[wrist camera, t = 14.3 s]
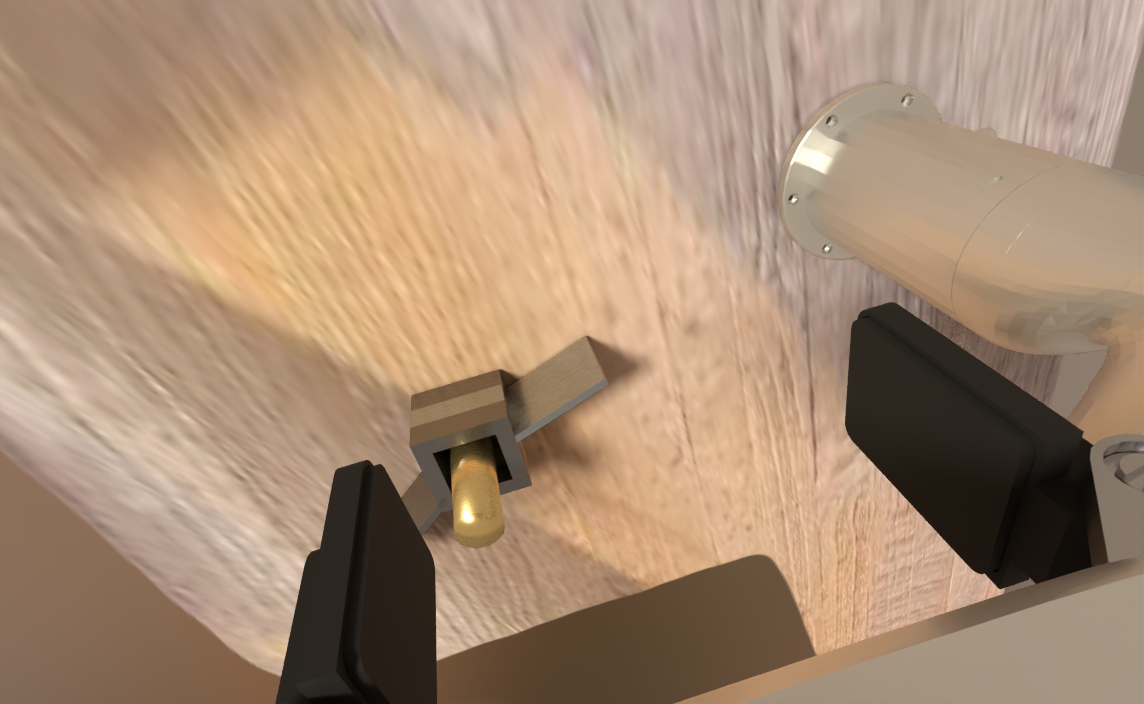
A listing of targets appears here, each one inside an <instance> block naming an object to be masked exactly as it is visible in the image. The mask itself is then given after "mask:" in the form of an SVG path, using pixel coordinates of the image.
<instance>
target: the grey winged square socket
mask: <svg viewBox="0 0 1144 704" xmlns="http://www.w3.org/2000/svg"><path fill="white" fill-rule="evenodd" d="M607 385H609V383H608V381H607V379H606V377H605V375H604V372H603V370H602V368H601V366H600V364H599V361H598V359H597V357H596V355H595V352H594V350H593V348H592V346H591V344H590V341H589V340H588V339H587V337H586V336H585V337H583V338H582V339H580V340H579V341H577V342H576V343H574V344H573V345H571V346H570V347H568V348H566V349H565V350H563V351H562V352H560V353H559V354H557V355H556V356H554V357H553V358H551V359H550V360H548V361H547V362H545V363H544V364H542V365H541V366H539V367H538V368H536V369H535V370H533V371H531V372H530V373H528V374H527V375H525V376H524V377H522V378H521V379H519V380H518V381H516V382H515V383H513V384H512V385H510V386H509V387H507V388H506V389H505V386H504V383H503V380H502V377H501V374H500V371H499V370H496V371H493V372H489V373H486V374H483V375H479V376H476V377H473V378H469V379H466V380H462V381H459V382H456V383H452V384H449V385H446V386H442V387H439V388H435V389H432V390H429V391H425V392H422V393H419V394H415V395H412V397H411V423H410V448H411V450H412V452H413V454H414V456H415V458H416V460H417V462H418V464H419V466H420V468H421V470H422V472H421V473H420V475H419V476H418V477H417V479H416V480H415V481H414V482H413V484H412V485H411V486H410V488H409V489H408V490H407V491H406V493H405V494H404V495H403V497H402V498H401V499H402V501H403V503H404V505H405V506H406V508H407V510H408V512H409V514H410V516H411V517H412V519H413V521H414V523H415V525H416V527H417V528H418V530H419V532H420V534H421V536H422V535H423V534H424V533H425V532H426V530H427V529H428V528H429V527H430V526H431V524H432V523H433V522H434V521H435V519H436V518H437V517H438V516H439V515H440V513H441V512H443V513H444V512H447V511H450V510H453V502H452V483H451V463H450V448H452V447H455V446H459V445H462V444H465V443H468V442H472V441H475V440H478V439H482V438H485V437H488V436H491V437H492V444H493V451H494V458H495V465H496V471H497V478H498V485H499V492H500V495H502V494H505V493H509V492H512V491H515V490H518V489H522V488H525V487H528V486H531V485H532V482H531V477H530V473H529V468H528V463H527V458H526V454H525V449H524V444H523V439H524V438H526V437H527V436H529V435H530V434H532V433H533V432H535V431H537V430H538V429H540V428H541V427H543V426H544V425H546V424H548V423H549V422H551V421H552V420H554V419H555V418H557V417H558V416H560V415H562V414H563V413H565V412H566V411H568V410H569V409H571V408H573V407H574V406H576V405H577V404H579V403H580V402H582V401H584V400H585V399H587V398H588V397H590V396H591V395H593V394H594V393H596V392H598V391H599V390H601V389H602V388H604V387H605V386H607Z"/></svg>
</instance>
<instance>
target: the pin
mask: <svg viewBox="0 0 1144 704" xmlns="http://www.w3.org/2000/svg"><path fill="white" fill-rule="evenodd" d="M450 463H451V483H452V502H453V521H454V536H455V538H456V540H457V541H458V542H459V543H460V544H462V545H464V546H466V547H471V548H481V547H485V546H488V545H491V544H493V543H495V542H496V541H497V540H498V539H500V537H501V536H502V535H503V533H504V528H505V527H504V520H503V513H502V506H501V499H500V492H499V485H498V478H497V471H496V465H495V458H494V451H493V444H492V437H491V436H488V437H485V438H482V439H478V440H475V441H472V442H468V443H465V444H462V445H459V446H455V447H452V448H450Z"/></svg>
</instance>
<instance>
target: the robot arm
mask: <svg viewBox="0 0 1144 704" xmlns="http://www.w3.org/2000/svg"><path fill="white" fill-rule="evenodd" d="M777 203H778V209H779V215H780V219H781V221H782V224H783V226H784V229H785V230H786V232H787V233H788V235H789V236H790V237H791V239H792V240H793V241H794V242H795V243H797V244H798V245H799V246H800V247H801V248H803V249H805V250H806V251H808V252H809V253H811V254H812V255H815V256H818V257H821V258H824V259H835V260H840V259H849V258H854V257H857V258H859V259H860V260H862V261H864V262H865V263H867V264H868V265H870V266H871V267H873V268H875V269H876V270H878V271H879V272H881V273H882V274H884V275H885V276H887V277H889V278H890V279H892V280H893V281H895V282H896V283H898V284H900V285H901V286H903V287H904V288H906V289H907V290H909V291H911V292H912V293H914V294H915V295H917V296H918V297H920V298H921V299H923V300H925V301H926V302H928V303H929V304H931V305H932V306H934V307H936V308H937V309H939V310H940V311H942V312H943V313H945V314H947V315H948V316H950V317H951V318H953V319H954V320H956V321H957V322H959V323H961V324H962V325H964V326H965V327H967V328H968V329H970V330H972V331H973V332H975V333H976V334H978V335H980V336H981V337H983V338H984V339H986V340H988V341H990V342H992V343H994V344H996V345H998V346H1001V347H1003V348H1006V349H1009V350H1012V351H1017V352H1022V353H1027V354H1034V355H1065V354H1078V353H1086V352H1094V351H1101V350H1107V356H1106V359H1105V362H1104V364H1103V366H1102V367H1101V368H1100V370H1099V372H1098V373H1097V375H1096V376H1095V378H1094V379H1093V381H1092V382H1091V384H1090V386H1089V389H1088V390H1087V392H1086V393H1085V395H1084V396H1083V397H1082V399H1081V400H1080V402H1079V403H1078V404H1077V406H1076V407H1075V408H1074V410H1073V411H1072V413H1071V414H1070V415H1069V417H1068V418H1067V420H1066V419H1065V418H1063V417H1062V416H1060V415H1059V414H1057V413H1056V412H1054V411H1053V410H1051V409H1050V408H1049V407H1047V406H1046V405H1044V404H1043V403H1041V402H1040V401H1038V400H1037V399H1035V398H1034V397H1033V396H1031V395H1030V394H1028V393H1027V392H1025V391H1024V390H1022V389H1021V388H1019V387H1018V386H1016V385H1015V384H1014V383H1012V382H1011V381H1009V380H1008V379H1006V378H1005V377H1003V376H1002V375H1000V374H999V373H997V372H996V371H995V370H993V369H992V368H990V367H989V366H987V365H986V364H984V363H983V362H981V361H980V360H978V359H977V358H975V357H974V356H973V355H971V354H970V353H968V352H967V351H965V350H964V349H962V348H961V347H959V346H958V345H956V344H955V343H954V342H952V341H951V340H949V339H948V338H946V337H945V336H943V335H942V334H940V333H939V332H937V331H936V330H935V329H933V328H932V327H930V326H929V325H927V324H926V323H924V322H923V321H921V320H920V319H918V318H917V317H916V316H914V315H913V314H911V313H910V312H908V311H907V310H905V309H904V308H902V307H901V306H899V305H898V304H896V303H891V302H889V303H886V304H883V305H879V306H876V307H873V308H869V309H866V310H863V311H862V312H860V314H859V316H858V320H856V321H854V322H853V324H852V328H851V341H850V356H849V371H848V386H847V401H846V416H845V426H846V430H847V433H848V435H849V437H850V438H851V440H852V441H853V442H854V443H855V444H856V445H857V446H858V447H859V448H860V450H861V451H862V452H863V453H864V454H865V455H866V456H867V457H868V458H869V459H870V460H871V461H872V462H873V464H874V465H875V466H876V467H877V468H878V469H879V470H880V471H881V472H882V473H883V474H884V475H885V476H886V478H887V479H888V480H889V481H890V482H891V483H892V484H893V485H894V486H895V487H896V488H897V489H898V491H899V492H900V493H901V494H902V495H903V496H904V497H905V498H906V499H907V500H908V501H909V502H910V503H911V505H912V506H913V507H914V508H915V509H916V510H917V511H918V512H919V513H920V514H921V515H922V516H923V517H924V519H925V520H926V521H927V522H928V523H929V524H930V525H931V526H932V527H933V528H934V529H935V530H936V531H937V533H938V534H939V535H940V536H941V537H942V538H943V539H944V540H945V541H946V542H947V543H948V544H949V545H950V547H951V548H952V549H953V550H954V551H955V552H956V553H957V554H958V555H959V556H960V557H961V558H962V559H963V561H964V562H965V563H966V564H967V565H968V566H969V567H970V568H971V569H972V570H973V571H975V572H977V573H979V574H984V573H985V574H986V575H987V576H988V578H989V579H990V580H991V581H992V582H993V583H994V584H995V585H996V586H997V587H998V588H999V589H1002V588H1005V587H1008V586H1011V585H1014V584H1017V583H1020V582H1023V581H1026V580H1029V577H1030V578H1031V579H1032V580H1033V581H1034V582H1035V583H1036V584H1035V585H1031V586H1029V587H1025V588H1022V589H1019V590H1015V591H1012V592H1009V593H1006V594H1002V595H999V596H996V597H993V598H990V599H987V600H984V601H981V602H978V603H975V604H972V605H969V606H966V607H963V608H960V609H957V610H954V611H950V612H947V613H944V614H941V615H938V616H935V617H932V618H929V619H926V620H923V621H920V622H917V623H914V624H911V625H908V626H905V627H902V628H899V629H896V630H893V631H890V632H887V633H884V634H881V635H878V636H875V637H872V638H869V639H865V640H862V641H859V642H856V643H853V644H851V645H848V646H845V647H842V648H839V649H836V650H833V651H830V652H827V653H824V654H821V655H818V656H815V657H812V658H809V659H806V660H803V661H800V662H797V663H794V664H791V665H788V666H785V667H782V668H779V669H776V670H773V671H770V672H767V673H764V674H761V675H758V676H755V677H752V678H749V679H746V680H743V681H740V682H738V683H734V684H731V685H728V686H725V687H723V688H719V689H717V690H714V691H711V692H707V693H705V694H701V695H698V696H696V697H693V698H690V699H687V700H684V701H681V702H678V703H675V704H1144V177H1141V176H1137V175H1134V174H1130V173H1126V172H1123V171H1119V170H1115V169H1111V168H1108V167H1104V166H1100V165H1096V164H1093V163H1089V162H1085V161H1082V160H1078V159H1074V158H1071V157H1067V156H1063V155H1060V154H1056V153H1052V152H1049V151H1045V150H1041V149H1037V148H1034V147H1030V146H1026V145H1023V144H1019V143H1015V142H1012V141H1008V140H1004V139H1001V138H997V137H996V132H995V130H994V129H992V128H991V127H988V128H983V129H980V130H976V131H971V130H968V129H964V128H960V127H957V126H953V125H949V124H945V123H942V120H941V117H940V115H939V113H938V111H937V108H936V107H935V106H934V105H933V103H932V102H931V101H930V100H929V98H928V97H926V96H925V95H924V94H922V93H921V92H919V91H918V90H916V89H913V88H910V87H907V86H904V85H900V84H894V83H888V82H884V83H871V84H867V85H863V86H860V87H856V88H854V89H852V90H850V91H847V92H845V93H843V94H841V95H839V96H838V97H836V98H835V99H833V100H832V101H831V102H829V103H828V104H826V105H825V106H824V107H823V108H821V109H820V110H819V111H818V112H817V113H816V114H815V115H814V116H813V117H812V118H811V119H810V120H809V121H808V123H807V124H806V125H805V127H804V128H803V129H802V130H801V132H800V133H799V134H798V136H797V137H796V139H795V141H794V143H793V144H792V146H791V148H790V150H789V152H788V154H787V156H786V159H785V162H784V164H783V167H782V170H781V174H780V179H779V184H778V200H777ZM436 671H437V670H436V594H435V566H434V561H433V557H432V554H431V552H430V550H429V548H428V547H427V545H426V543H425V541H424V539H423V537H422V536H421V534H420V532H419V530H418V528H417V527H416V525H415V523H414V521H413V519H412V517H411V516H410V514H409V512H408V510H407V508H406V506H405V505H404V503H403V501H402V499H401V497H400V495H399V494H398V492H397V490H396V488H395V486H394V484H393V483H392V481H391V479H390V477H389V475H388V474H387V472H386V470H385V468H384V467H383V466H382V465H381V464H378V465H375V466H373V464H372V463H371V462H370V461H369V460H365V461H361V462H358V463H355V464H351V465H348V466H345V467H341V468H338V469H337V470H336V471H335V474H334V478H333V483H332V489H331V494H330V499H329V504H328V510H327V515H326V520H325V526H324V531H323V536H322V541H321V547H320V549H319V550H315V551H312V552H311V553H310V554H309V555H308V557H307V560H306V563H305V566H304V571H303V576H302V580H301V585H300V590H299V595H298V599H297V604H296V609H295V614H294V618H293V623H292V628H291V633H290V637H289V642H288V647H287V652H286V656H285V661H284V666H283V671H282V675H281V680H280V685H279V690H278V694H277V699H276V704H437V676H436V675H437V672H436Z"/></svg>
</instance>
